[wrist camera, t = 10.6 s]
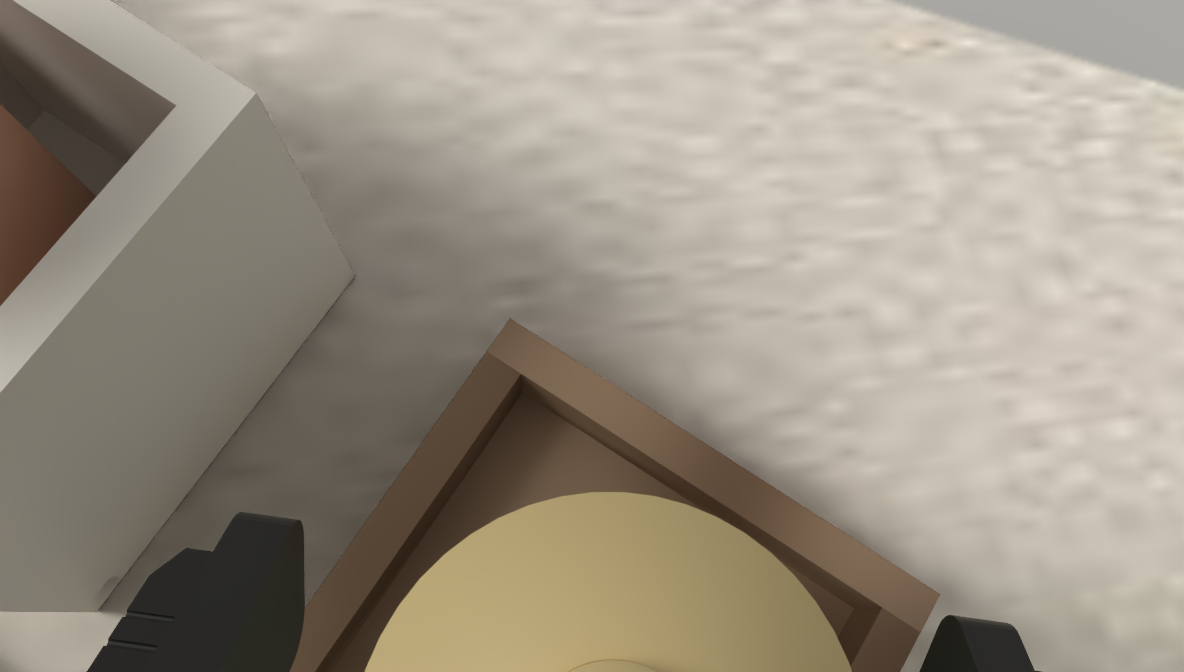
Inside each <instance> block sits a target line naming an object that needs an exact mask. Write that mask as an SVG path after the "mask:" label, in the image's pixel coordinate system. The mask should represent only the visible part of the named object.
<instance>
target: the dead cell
mask: <svg viewBox="0 0 1184 672" xmlns="http://www.w3.org/2000/svg"><path fill="white" fill-rule="evenodd" d="M95 198H96V196H95V195H94V194H93V193H92V192H91V191H90V190H89V189H88V188H87V187H86V186H85V185H84V184H83V183H82V182H81V181H80V180H79V179H78V178H77V177H76V176H75V175H73V174H72V173H71V172H70V171H69V170H68V169H67V168H66V167H65V166H64V165H63V164H62V163H61V162H60V161H59V160H58V159H57V158H56V157H55V156H54V155H53V154H52V153H51V152H50V151H49V150H48V149H46V148H45V147H44V146H43V145H42V144H41V143H40V142H39V141H38V140H37V139H36V138H35V137H34V136H33V135H32V134H31V133H30V132H29V131H28V130H27V129H26V128H25V127H24V126H23V125H22V124H21V123H19V122H18V121H17V120H16V119H15V118H14V117H13V116H12V115H11V114H10V113H9V112H8V111H7V110H6V109H5V108H4V107H3V106H2V105H1V104H0V306H1V305H2V304H3V303H4V301H5V300H6V299H7V298H8V297H9V296H10V295H11V294H12V292H13V291H14V290H15V289H16V288H17V287H18V286H19V284H20V283H21V282H22V281H23V280H24V279H25V278H26V276H27V275H28V274H29V273H30V272H31V271H32V270H33V268H34V267H35V266H36V265H37V264H38V263H39V262H40V260H41V259H42V258H43V257H44V256H45V255H46V254H47V253H48V251H49V250H50V249H51V248H52V247H53V246H54V245H55V243H56V242H57V241H58V240H59V239H60V238H61V237H62V235H63V234H64V233H65V232H66V231H67V230H68V229H69V227H70V226H71V225H72V224H73V223H74V222H75V221H76V219H77V218H78V217H79V216H80V215H81V214H82V213H83V211H84V210H85V209H86V208H87V207H88V206H89V205H90V204H91V202H92V201H93V200H94V199H95Z"/></svg>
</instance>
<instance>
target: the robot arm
mask: <svg viewBox="0 0 1184 672" xmlns="http://www.w3.org/2000/svg"><path fill="white" fill-rule="evenodd" d="M304 612H305V599H304V532H303V525H302V523H301V521H299V520H294V519H287V518H280V517H273V516H266V515H259V514H252V513H245V512H239V513H238V514H236V516H235V517H234V518H233V519H232V521H231V522H230V524H229V526H228V527H227V529H226V531H225V533H224V534H223V536H222V538H221V539H220V541H219V543H218V544H217V546H216V548H215V550H214V551H213V552H211V551H204V550H197V549H190V548H186V549H184V550H183V551H182V552H180V553H179V554H178V555H176V556H175V557H174V558H172V559H171V560H170V561H168V562H167V563H166V564H164V565H163V566H162V567H160V568H159V569H158V570H156V571H155V572H154V573H152V574H151V575H150V576H149V577H148V579H147V580H146V582H145V583H144V585H143V586H142V588H141V589H140V591H139V593H138V594H137V596H136V597H135V599H134V600H133V602H132V603H131V605H130V606H129V608H128V609H127V614H126V617H122V619H121V620H120V622H119V623H118V625H117V626H116V628H115V629H114V631H113V632H112V634H111V635H110V637H109V640H108V644H107V646H103V648H102V649H101V651H100V652H99V654H98V655H97V657H96V658H95V660H94V662H93V663H92V665H91V666H90V668H89V669H88V671H87V672H290V669H291V667H292V665H293V662H294V660H295V657H296V654H297V650H298V647H299V643H300V639H301V634H302V629H303V622H304ZM920 672H1040V671H1034V668H1033V666H1032V664H1031V661H1030V659H1029V657H1028V654H1027V652H1026V650H1025V647H1024V645H1023V643H1022V640H1021V638H1020V636H1019V634H1018V632H1017V630H1016V629H1015V628H1014V627H1013V626H1012V625H1011V624H1008V623H1002V622H995V621H988V620H981V619H974V618H967V617H960V616H953V615H948V616H946V617H945V618H944V619H943V620H942V621H941V623H940V625H939V627H938V629H937V631H936V634H935V636H934V639H933V641H932V643H931V646H930V648H929V651H928V653H927V655H926V658H925V660H924V663H923V665H922V667H921V670H920Z"/></svg>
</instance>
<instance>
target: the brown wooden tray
mask: <svg viewBox="0 0 1184 672" xmlns="http://www.w3.org/2000/svg"><path fill="white" fill-rule="evenodd" d="M590 492H627V493H635V494H643V495H651V496H657V497H661V498H664V499H668V500H672V501H676V502H679V503H683V504H687V505H689V506H692V507H694V508H697V509H699V510H701V511H704V512H706V513H709V514H711V515H714V516H716V517H718V518H720V519H721V520H723V521H725V522H727V523H728V524H730V525H732V526H734V527H735V528H737V529H739V530H741V531H743V532H744V533H746V534H747V535H748V536H750V537H751V538H752V539H754V540H755V541H756V542H758V543H759V544H760V545H762V546H763V547H764V548H766V549H767V550H768V551H770V552H771V553H772V554H773V555H774V556H775V557H776V558H777V559H778V560H779V561H780V562H781V563H782V564H783V565H784V566H785V567H786V568H787V569H789V570H790V571H791V572H792V573H793V574H794V575H795V576H796V578H797V579H798V580H799V581H800V583H801V584H802V585H803V586H804V588H805V589H806V590H807V591H808V593H809V594H810V595H811V596H812V598H813V599H814V600H815V601H816V603H817V604H818V606H819V607H820V609H821V611H822V612H823V614H824V615H825V617H826V619H827V620H828V622H829V623H830V625H831V627H832V628H833V630H834V632H835V634H836V636H837V638H838V640H839V642H840V644H841V647H842V649H843V651H844V653H845V655H846V657H847V659H848V661H849V664H850V667H851V670H852V672H900V670H901V669H902V667H903V665H904V663H905V661H906V659H907V657H908V655H909V653H910V651H911V649H912V647H913V646H914V644H915V642H916V640H917V638H918V636H919V634H920V632H921V630H922V628H923V626H924V624H925V622H926V621H927V619H928V617H929V615H930V613H931V611H932V609H933V607H934V605H935V603H936V601H937V599H938V598H939V596H940V594H939V593H937V592H936V591H934V590H933V589H931V588H930V587H928V586H926V585H925V584H923V583H922V582H920V581H919V580H917V579H915V578H914V577H912V576H911V575H909V574H908V573H906V572H905V571H903V570H901V569H900V568H898V567H897V566H895V565H894V564H892V563H891V562H889V561H887V560H886V559H884V558H883V557H881V556H880V555H878V554H877V553H875V552H873V551H872V550H870V549H869V548H867V547H866V546H864V545H862V544H861V543H859V542H858V541H856V540H855V539H853V538H852V537H850V536H848V535H847V534H845V533H844V532H842V531H841V530H839V529H838V528H836V527H834V526H833V525H831V524H830V523H828V522H827V521H825V520H824V519H822V518H820V517H819V516H817V515H816V514H814V513H813V512H811V511H809V510H808V509H806V508H805V507H803V506H802V505H800V504H799V503H797V502H795V501H794V500H792V499H791V498H789V497H788V496H786V495H785V494H783V493H781V492H780V491H778V490H777V489H775V488H774V487H772V486H771V485H769V484H767V483H766V482H764V481H763V480H761V479H760V478H758V477H756V476H755V475H753V474H752V473H750V472H749V471H747V470H746V469H744V468H742V467H741V466H739V465H738V464H736V463H735V462H733V461H732V460H730V459H728V458H727V457H725V456H724V455H722V454H721V453H719V452H718V451H716V450H714V449H713V448H711V447H710V446H708V445H707V444H705V443H703V442H702V441H700V440H699V439H697V438H696V437H694V436H693V435H691V434H689V433H688V432H686V431H685V430H683V429H682V428H680V427H679V426H677V425H675V424H674V423H672V422H671V421H669V420H668V419H666V418H665V417H663V416H661V415H660V414H658V413H657V412H655V411H654V410H652V409H650V408H649V407H647V406H646V405H644V404H643V403H641V402H640V401H638V400H636V399H635V398H633V397H632V396H630V395H629V394H627V393H626V392H624V391H622V390H621V389H619V388H618V387H616V386H615V385H613V384H612V383H610V382H608V381H607V380H605V379H604V378H602V377H601V376H599V375H598V374H596V373H594V372H593V371H591V370H590V369H588V368H587V367H585V366H583V365H582V364H580V363H579V362H577V361H576V360H574V359H573V358H571V357H569V356H568V355H566V354H565V353H563V352H562V351H560V350H559V349H557V348H555V347H554V346H552V345H551V344H549V343H548V342H546V341H545V340H543V339H541V338H540V337H538V336H537V335H535V334H534V333H532V332H530V331H529V330H527V329H526V328H524V327H523V326H521V325H520V324H518V323H516V322H515V321H513V320H512V319H509V321H508V322H507V323H506V325H505V326H504V328H503V329H502V331H501V332H500V333H499V335H498V336H497V338H496V339H495V340H494V342H493V343H492V345H491V346H490V347H489V349H488V350H487V352H486V353H485V355H484V356H483V357H482V359H481V360H480V362H479V363H478V364H477V366H476V367H475V369H474V370H473V371H472V373H471V374H470V376H469V377H468V379H467V380H466V381H465V383H464V384H463V386H462V387H461V388H460V390H459V391H458V393H457V394H456V395H455V397H454V398H453V400H452V401H451V403H450V404H449V405H448V407H447V408H446V410H445V411H444V412H443V414H442V415H441V417H440V418H439V419H438V421H437V422H436V424H435V425H434V427H433V428H432V429H431V431H430V432H429V434H428V435H427V436H426V438H425V439H424V441H423V442H422V443H421V445H420V446H419V448H418V449H417V451H416V452H415V453H414V455H413V456H412V458H411V459H410V460H409V462H408V463H407V465H406V466H405V468H404V469H403V470H402V472H401V473H400V475H399V476H398V477H397V479H396V480H395V482H394V483H393V484H392V486H391V487H390V489H389V490H388V492H387V493H386V494H385V496H384V497H383V499H382V500H381V501H380V503H379V504H378V506H377V507H376V508H375V510H374V511H373V513H372V514H371V516H370V517H369V518H368V520H367V521H366V523H365V524H364V525H363V527H362V528H361V530H360V531H359V532H358V534H357V535H356V537H355V538H354V540H353V541H352V542H351V544H350V545H349V547H348V548H347V549H346V551H345V552H344V554H343V555H342V556H341V558H340V559H339V561H338V562H337V564H336V565H335V566H334V568H333V569H332V571H331V572H330V573H329V575H328V576H327V578H326V579H325V580H324V582H323V583H322V585H321V586H320V588H319V589H318V590H317V592H316V593H315V595H314V596H313V597H312V599H311V600H310V602H309V603H308V605H307V606H306V607H305V612H304V622H303V629H302V634H301V639H300V643H299V647H298V650H297V654H296V657H295V660H294V662H293V665H292V667H291V669H290V672H365V669H366V667H367V665H368V662H369V660H370V658H371V656H372V653H373V651H374V649H375V647H376V644H377V642H378V640H379V638H380V636H381V634H382V632H383V631H384V629H385V627H386V626H387V624H388V622H389V621H390V619H391V617H392V616H393V614H394V612H395V611H396V609H397V607H398V606H399V605H400V603H401V602H402V601H403V599H404V598H405V597H406V596H407V594H408V593H409V592H410V590H411V589H412V588H413V587H414V585H415V584H416V583H417V582H418V580H419V579H420V578H421V577H422V576H423V575H424V574H425V573H426V572H427V571H428V570H429V569H430V568H431V567H432V566H433V565H434V564H435V563H436V562H437V561H438V560H439V559H440V558H441V557H442V556H443V555H444V554H446V553H447V552H448V551H449V550H451V549H452V548H453V547H455V546H456V545H457V544H459V543H460V542H461V541H462V540H464V539H465V538H466V537H468V536H469V535H470V534H472V533H474V532H475V531H477V530H479V529H480V528H482V527H484V526H486V525H487V524H489V523H491V522H492V521H494V520H496V519H498V518H499V517H502V516H504V515H507V514H509V513H511V512H514V511H516V510H519V509H521V508H523V507H526V506H528V505H531V504H535V503H538V502H542V501H546V500H549V499H553V498H557V497H560V496H568V495H575V494H582V493H590Z"/></svg>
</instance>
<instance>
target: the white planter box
mask: <svg viewBox="0 0 1184 672" xmlns="http://www.w3.org/2000/svg"><path fill="white" fill-rule="evenodd" d="M0 104H1V105H2V106H3V107H4V108H5V109H6V110H7V111H8V112H9V113H10V114H11V115H12V116H13V117H14V118H15V119H16V120H17V121H18V122H19V123H21V124H22V125H23V126H24V127H25V128H26V129H27V130H28V131H29V132H30V133H31V134H32V135H33V136H34V137H35V138H36V139H37V140H38V141H39V142H40V143H41V144H42V145H43V146H44V147H45V148H46V149H48V150H49V151H50V152H51V153H52V154H53V155H54V156H55V157H56V158H57V159H58V160H59V161H60V162H61V163H62V164H63V165H64V166H65V167H66V168H67V169H68V170H69V171H70V172H71V173H72V174H73V175H75V176H76V177H77V178H78V179H79V180H80V181H81V182H82V183H83V184H84V185H85V186H86V187H87V188H88V189H89V190H90V191H91V192H92V193H93V194H94V195H95V196H96V198H95V199H94V200H93V201H92V202H91V204H90V205H89V206H88V207H87V208H86V209H85V210H84V211H83V213H82V214H81V215H80V216H79V217H78V218H77V219H76V221H75V222H74V223H73V224H72V225H71V226H70V227H69V229H68V230H67V231H66V232H65V233H64V234H63V235H62V237H61V238H60V239H59V240H58V241H57V242H56V243H55V245H54V246H53V247H52V248H51V249H50V250H49V251H48V253H47V254H46V255H45V256H44V257H43V258H42V259H41V260H40V262H39V263H38V264H37V265H36V266H35V267H34V268H33V270H32V271H31V272H30V273H29V274H28V275H27V276H26V278H25V279H24V280H23V281H22V282H21V283H20V284H19V286H18V287H17V288H16V289H15V290H14V291H13V292H12V294H11V295H10V296H9V297H8V298H7V299H6V300H5V301H4V303H3V304H2V305H1V306H0V612H97V611H98V609H99V608H100V607H101V606H102V604H103V603H104V602H105V600H106V599H107V598H108V596H109V595H110V594H111V593H112V591H113V590H114V589H115V587H116V586H117V585H118V583H119V582H120V581H121V580H122V578H123V577H124V576H125V574H126V573H127V572H128V570H129V569H130V568H131V567H132V565H133V564H134V563H135V561H136V560H137V559H138V557H139V556H140V555H141V554H142V552H143V551H144V550H145V548H146V547H147V546H148V544H149V543H150V542H151V541H152V539H153V538H154V537H155V535H156V534H157V533H158V531H159V530H160V529H161V528H162V526H163V525H164V524H165V522H166V521H167V520H168V518H169V517H170V516H171V515H172V513H173V512H174V511H175V509H176V508H177V507H178V505H179V504H180V503H181V502H182V500H183V499H184V498H185V496H186V495H187V494H188V492H189V491H190V490H191V489H192V487H193V486H194V485H195V483H196V482H197V481H198V479H199V478H200V477H201V476H202V474H203V473H204V472H205V470H206V469H207V468H208V466H209V465H210V464H211V463H212V461H213V460H214V459H215V457H216V456H217V455H218V453H219V452H220V451H221V450H222V448H223V447H224V446H225V444H226V443H227V442H228V440H229V439H230V438H231V437H232V435H233V434H234V433H235V431H236V430H237V429H238V427H239V426H240V425H241V424H242V422H243V421H244V420H245V418H246V417H247V416H248V414H249V413H250V412H251V411H252V409H253V408H254V407H255V405H256V404H257V403H258V401H259V400H260V399H261V398H262V396H263V395H264V394H265V392H266V391H267V390H268V388H269V387H270V386H271V385H272V383H273V382H274V381H275V379H276V378H277V377H278V375H279V374H280V373H281V372H282V370H283V369H284V368H285V366H286V365H287V364H288V362H289V361H290V360H291V359H292V357H293V356H294V355H295V353H296V352H297V351H298V349H299V348H300V347H301V346H302V344H303V343H304V342H305V340H306V339H307V338H308V336H309V335H310V334H311V333H312V331H313V330H314V329H315V327H316V326H317V325H318V323H319V322H320V321H321V320H322V318H323V317H324V316H325V314H326V313H327V312H328V310H329V309H330V308H331V307H332V305H333V304H334V303H335V301H336V300H337V299H338V297H339V296H340V295H341V294H342V292H343V291H344V290H345V288H346V287H347V286H348V284H349V283H350V282H351V281H352V279H353V278H354V277H355V274H354V272H353V270H352V268H351V267H350V265H349V263H348V261H347V259H346V257H345V255H344V254H343V252H342V250H341V248H340V246H339V244H338V243H337V241H336V239H335V237H334V235H333V233H332V231H331V230H330V228H329V226H328V224H327V222H326V220H325V219H324V217H323V215H322V213H321V211H320V209H319V207H318V206H317V204H316V202H315V200H314V198H313V196H312V195H311V193H310V191H309V189H308V187H307V185H306V183H305V182H304V180H303V178H302V176H301V174H300V172H299V171H298V169H297V167H296V165H295V163H294V161H293V159H292V158H291V156H290V154H289V152H288V150H287V148H286V147H285V145H284V143H283V141H282V139H281V137H280V135H279V134H278V132H277V130H276V128H275V126H274V124H273V123H272V121H271V119H270V117H269V115H268V113H267V111H266V110H265V108H264V106H263V104H262V102H261V100H260V99H259V97H258V95H257V93H256V92H254V91H253V90H251V89H250V88H248V87H247V86H245V85H243V84H242V83H240V82H239V81H237V80H235V79H234V78H232V77H231V76H229V75H228V74H226V73H224V72H223V71H221V70H220V69H218V68H217V67H215V66H213V65H212V64H210V63H209V62H207V61H205V60H204V59H202V58H201V57H199V56H198V55H196V54H194V53H193V52H191V51H190V50H188V49H187V48H185V47H183V46H182V45H180V44H179V43H177V42H175V41H174V40H172V39H171V38H169V37H168V36H166V35H164V34H163V33H161V32H160V31H158V30H157V29H155V28H153V27H152V26H150V25H149V24H147V23H145V22H144V21H142V20H141V19H139V18H138V17H136V16H134V15H133V14H131V13H130V12H128V11H126V10H125V9H123V8H122V7H120V6H119V5H117V4H115V3H114V2H112V1H111V0H0Z"/></svg>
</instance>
